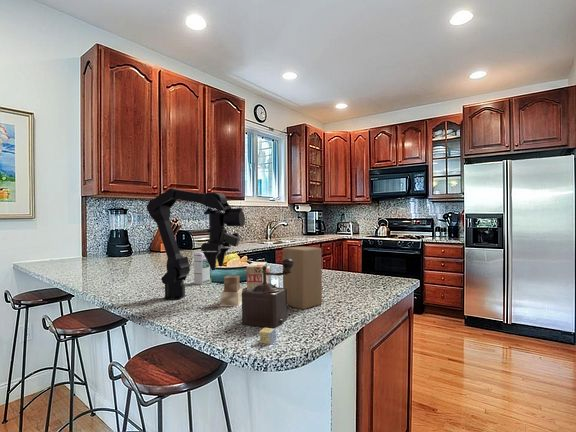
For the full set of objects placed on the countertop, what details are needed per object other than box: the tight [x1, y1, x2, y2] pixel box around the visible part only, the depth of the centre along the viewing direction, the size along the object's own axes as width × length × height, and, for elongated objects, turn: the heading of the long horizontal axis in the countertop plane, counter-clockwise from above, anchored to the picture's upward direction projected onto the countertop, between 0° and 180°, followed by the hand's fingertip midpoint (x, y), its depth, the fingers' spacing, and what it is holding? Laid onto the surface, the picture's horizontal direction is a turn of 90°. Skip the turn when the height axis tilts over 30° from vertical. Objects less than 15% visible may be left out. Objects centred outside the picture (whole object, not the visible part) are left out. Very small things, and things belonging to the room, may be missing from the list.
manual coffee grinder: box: [241, 258, 293, 329], centre depth 102 cm, size 16×11×18 cm
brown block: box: [223, 274, 241, 292], centre depth 120 cm, size 4×4×5 cm
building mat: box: [219, 302, 242, 307], centre depth 119 cm, size 13×15×1 cm
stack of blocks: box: [246, 261, 272, 291], centre depth 141 cm, size 21×6×12 cm, turn 174°
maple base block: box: [220, 288, 243, 305], centre depth 120 cm, size 6×6×4 cm
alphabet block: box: [259, 328, 277, 345], centre depth 84 cm, size 3×3×3 cm
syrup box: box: [193, 251, 212, 286], centre depth 159 cm, size 6×6×14 cm
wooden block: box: [282, 245, 323, 310], centre depth 119 cm, size 10×10×20 cm
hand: (217, 268), depth 126 cm, fingers open, 9 cm apart
